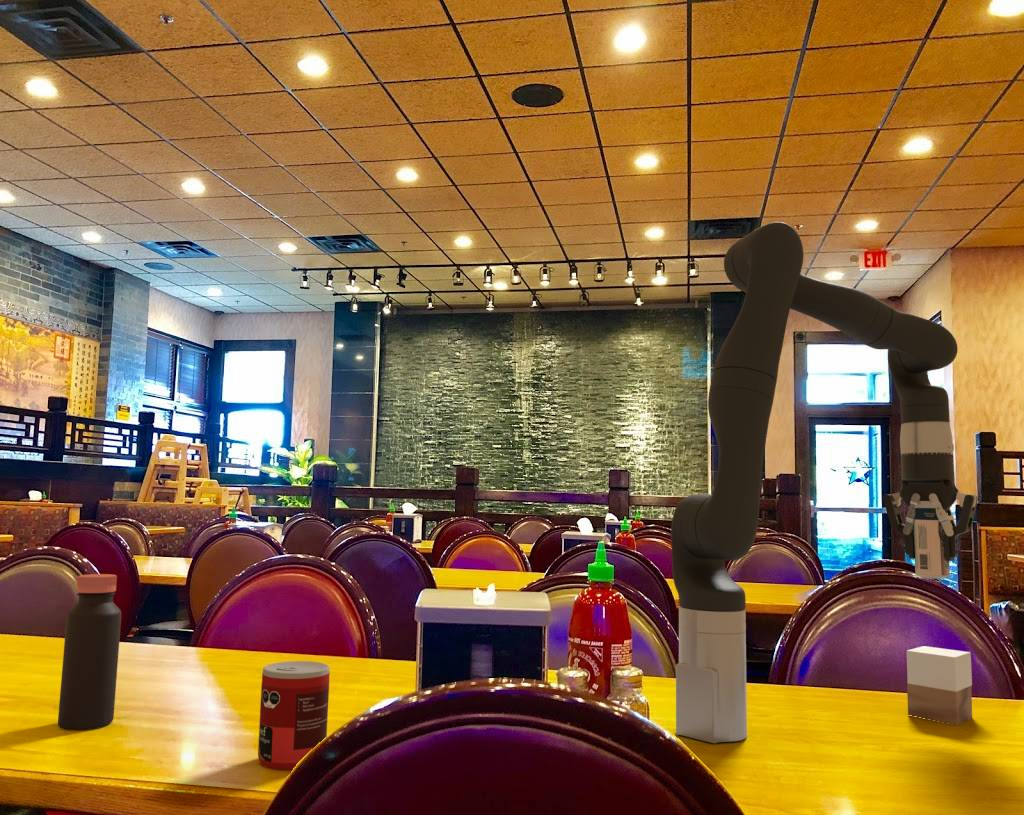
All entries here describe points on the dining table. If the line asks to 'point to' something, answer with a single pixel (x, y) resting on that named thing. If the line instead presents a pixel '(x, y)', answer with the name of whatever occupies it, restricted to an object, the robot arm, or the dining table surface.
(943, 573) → the beer can
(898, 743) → the dining table surface
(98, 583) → the bottle
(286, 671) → the canned food
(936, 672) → the tower top
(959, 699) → the tower base
